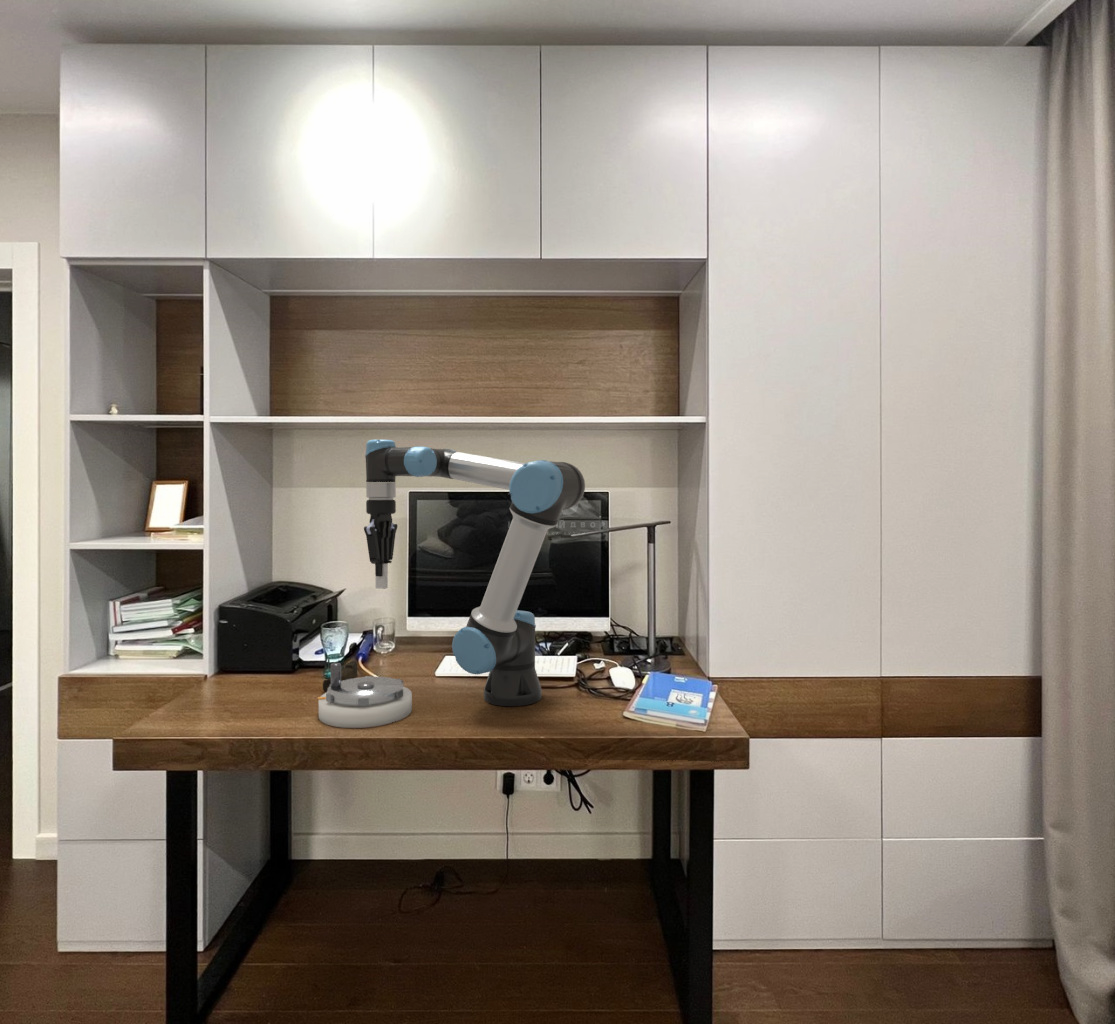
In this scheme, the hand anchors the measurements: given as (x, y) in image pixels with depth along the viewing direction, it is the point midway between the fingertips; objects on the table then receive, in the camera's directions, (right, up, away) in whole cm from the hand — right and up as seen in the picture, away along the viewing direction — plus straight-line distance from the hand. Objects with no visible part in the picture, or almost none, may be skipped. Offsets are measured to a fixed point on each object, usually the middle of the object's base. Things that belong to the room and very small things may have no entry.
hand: (381, 588), depth 186 cm
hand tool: (-14, -28, +12) cm, 34 cm away
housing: (0, -29, -13) cm, 32 cm away
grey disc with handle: (0, -25, -13) cm, 28 cm away
